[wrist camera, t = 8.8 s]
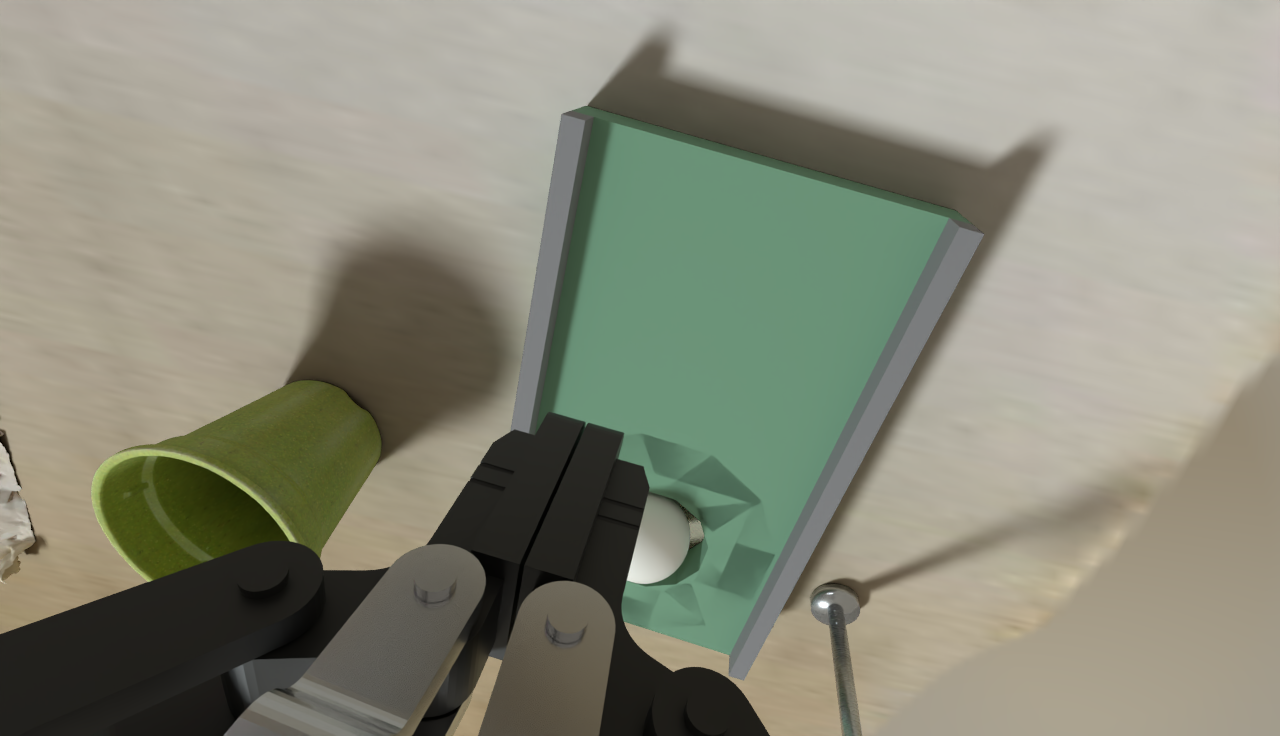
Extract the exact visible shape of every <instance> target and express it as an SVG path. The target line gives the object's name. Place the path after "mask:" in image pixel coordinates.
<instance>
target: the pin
mask: <svg viewBox="0 0 1280 736" xmlns="http://www.w3.org/2000/svg"><path fill="white" fill-rule="evenodd" d="M810 602H811V611H812V614H813V616H814V617H815V618H816V619H817V620H818V621H820V622H822V623H824V624H827V625H829V628H830V637H831V645H832V654H833V662H834V671H835V679H836V687H837V696H838V704H839V713H840V721H841V730H842V736H862V731H861V724H860V718H859V711H858V704H857V697H856V691H855V684H854V677H853V670H852V664H851V657H850V650H849V643H848V636H847V630H846V625H847V624H850V623H852V622H853V621H855V620H856V619H857V617H858V616H859V614H860V606H859V601H858V596H857V594H856V593H855V592H854V591H853V590H852V589H851V588H849V587H847V586H845V585H841V584H825V585H822V586H820V587H818V588H816V589H815V590H814V591H813V592H812V594H811V597H810Z"/></svg>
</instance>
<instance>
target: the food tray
mask: <svg viewBox="0 0 1280 736" xmlns="http://www.w3.org/2000/svg"><path fill="white" fill-rule="evenodd" d="M2 435H4V433H3V432H2V431H0V436H2ZM9 460H10V459H9V454H7V453H6V450H5V447H3V446H2V444H1V443H0V581H1V582H3V583H5V582H4V581H3V580H5V579H7V578H8V577H9V576H10V575H11V574H13V573H15V574H16V573H17V572H19V571H20V568H19V565H20V563H21V562H20V561H18V555H19V554H21V552H23V551H24V550H25V549H27V548H29V547H30V546H32V545H33V543H34V542H36V541H35V539H34V536H33V535H32V534H33V531H32V530H31V526H30V524H31V522H30V520H29V519H28V517H29V516H28V513H27V507H26V503H25V501H23V500H22V499H21V497H20V496H19V494H18V493H17V491H20V489H21V487H20V486H18V485H17V482H16V477H15V476H14V470H13V467H12V466H11V463H10V461H9ZM5 584H6V583H5Z"/></svg>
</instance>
